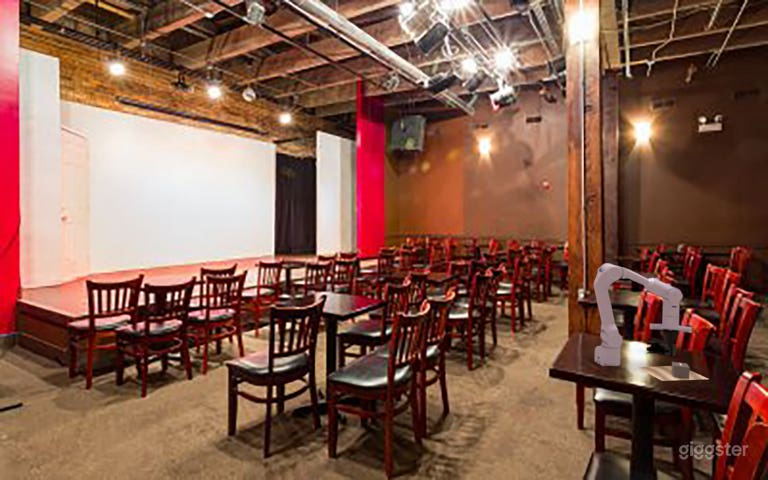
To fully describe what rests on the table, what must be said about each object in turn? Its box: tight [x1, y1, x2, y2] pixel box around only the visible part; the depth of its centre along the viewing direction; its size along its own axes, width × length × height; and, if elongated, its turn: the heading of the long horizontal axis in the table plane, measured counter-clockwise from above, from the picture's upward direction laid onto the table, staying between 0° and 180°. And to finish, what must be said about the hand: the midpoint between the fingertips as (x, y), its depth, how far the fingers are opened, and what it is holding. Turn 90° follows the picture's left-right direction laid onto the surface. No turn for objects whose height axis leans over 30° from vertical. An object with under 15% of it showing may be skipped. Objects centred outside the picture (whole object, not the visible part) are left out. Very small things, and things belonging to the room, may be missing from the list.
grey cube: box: [671, 361, 691, 379], centre depth 170 cm, size 5×5×5 cm
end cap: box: [646, 337, 678, 358], centre depth 200 cm, size 10×7×7 cm
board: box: [636, 365, 709, 382], centre depth 173 cm, size 19×15×2 cm
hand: (669, 347), depth 181 cm, fingers closed
